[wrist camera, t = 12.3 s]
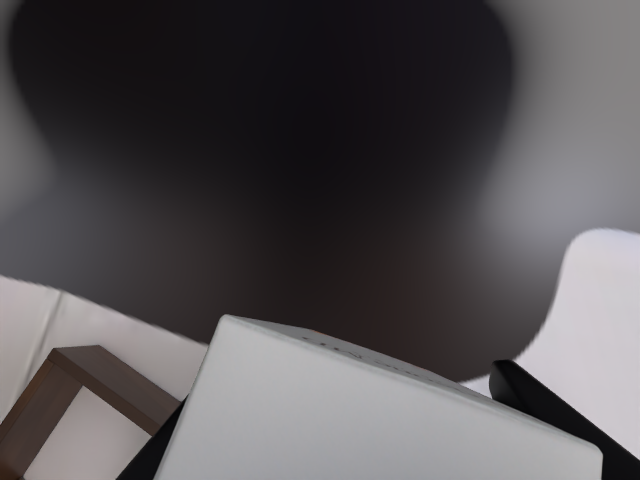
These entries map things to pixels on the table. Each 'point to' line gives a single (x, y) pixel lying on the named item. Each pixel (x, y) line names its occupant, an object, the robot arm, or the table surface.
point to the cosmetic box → (350, 418)
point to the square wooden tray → (60, 389)
